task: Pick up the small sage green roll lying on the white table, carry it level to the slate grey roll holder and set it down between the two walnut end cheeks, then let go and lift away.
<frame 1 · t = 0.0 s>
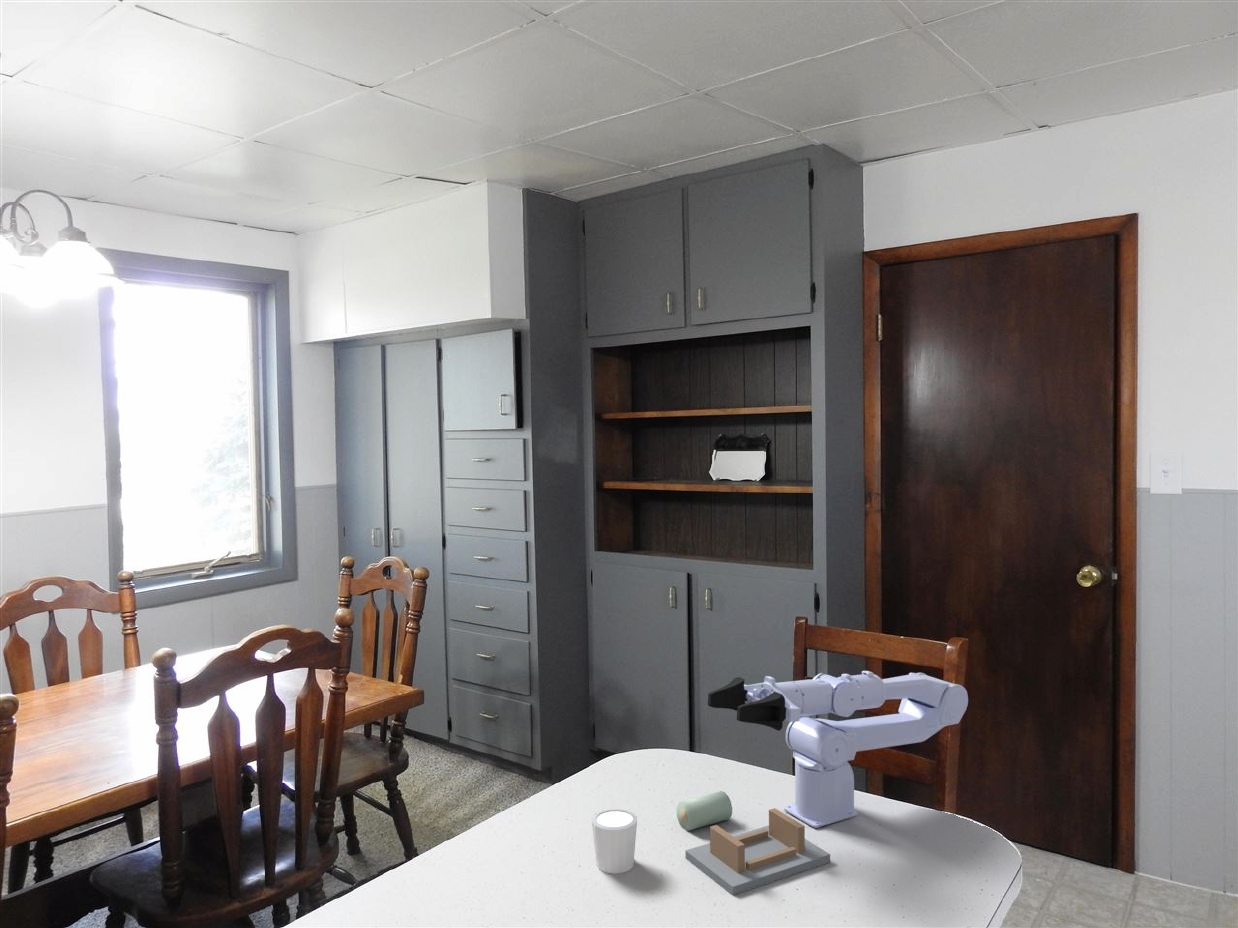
hand: (723, 706, 138), 22 cm above the table, tool horizontal, fingers open, 7 cm apart
white cup: (615, 864, 133), on the table
roll: (704, 823, 146), on the table
holder: (757, 859, 134), on the table
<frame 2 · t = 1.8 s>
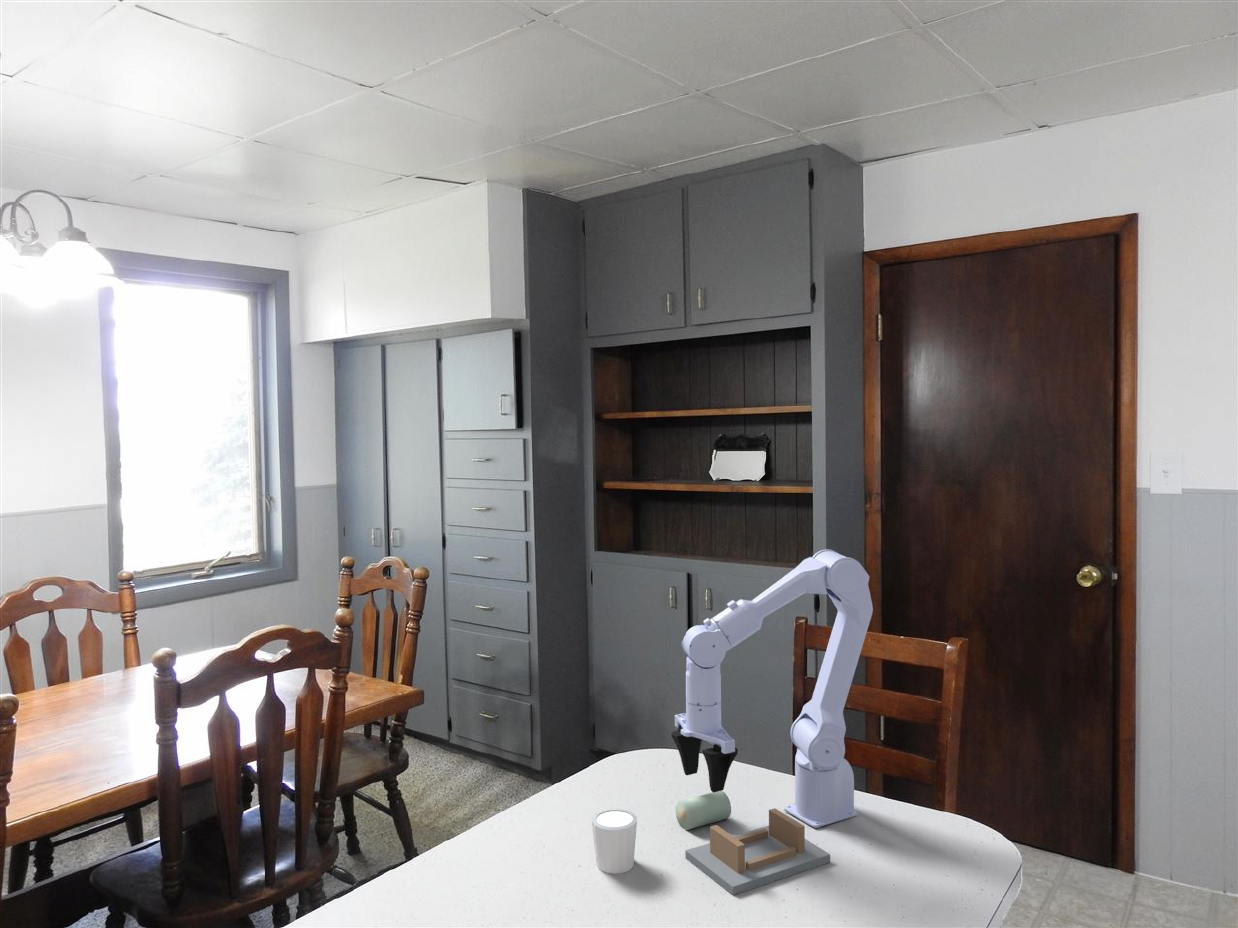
hand: (703, 781, 145), 7 cm above the table, tool pointing down, fingers open, 7 cm apart
roll: (704, 823, 146), on the table, tilted 8°
everything else where it was.
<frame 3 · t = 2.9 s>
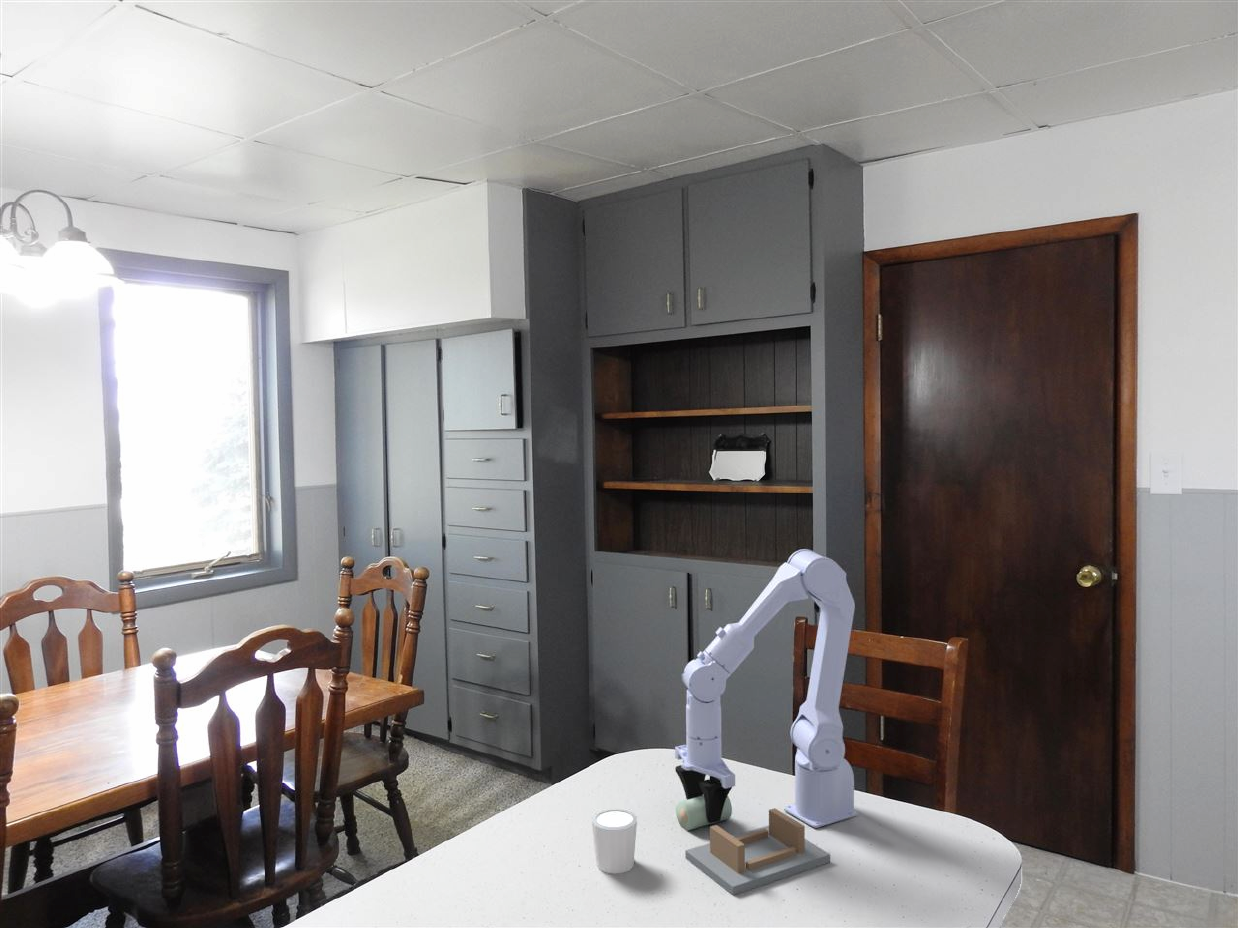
hand: (704, 814, 146), 1 cm above the table, tool pointing down, fingers open, 5 cm apart
nothing on the table moved.
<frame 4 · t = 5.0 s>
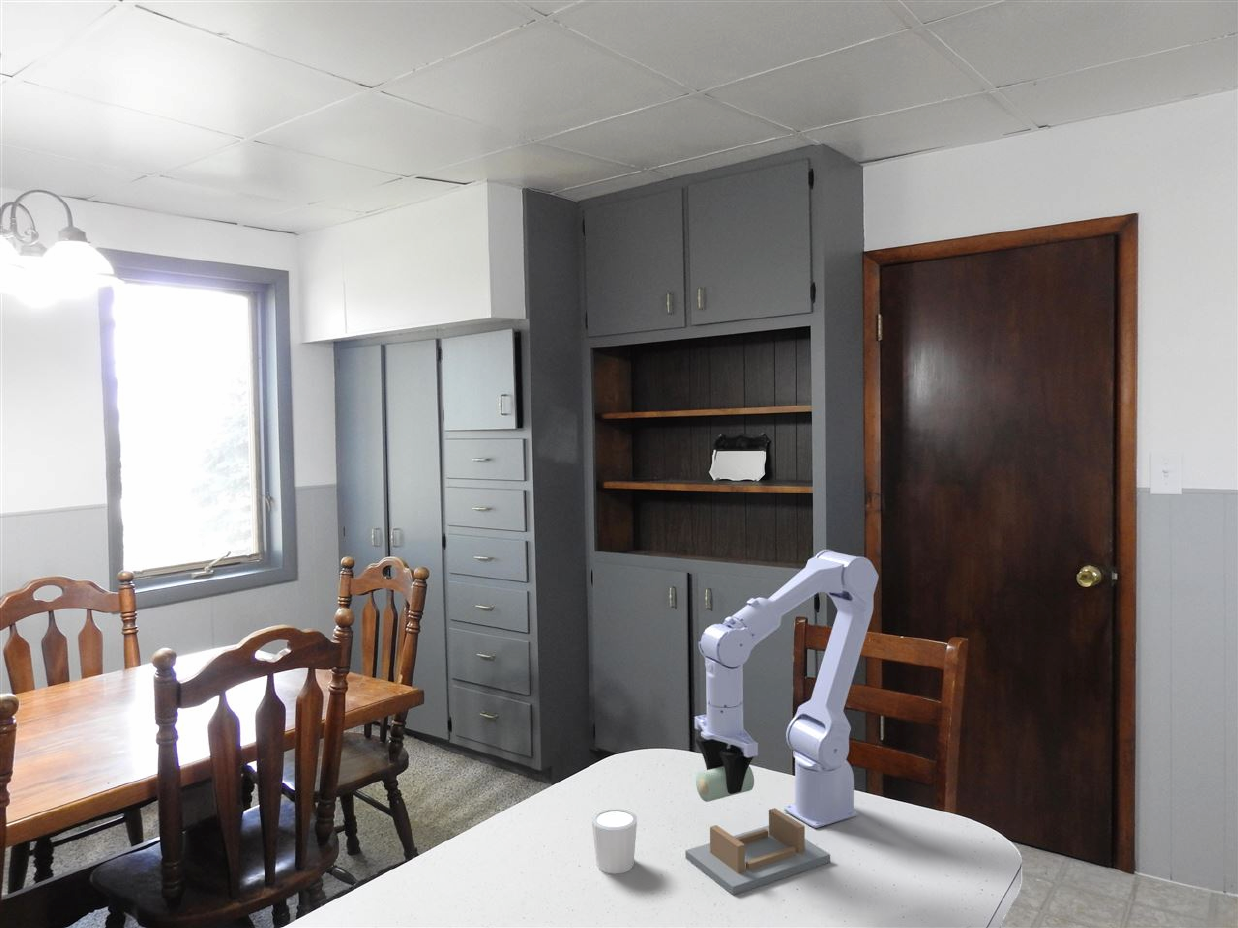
hand: (725, 786, 140), 8 cm above the table, tool pointing down, fingers closed on roll, 4 cm apart
roll: (725, 795, 140), point 7 cm above the table, touching gripper
everything else where it was.
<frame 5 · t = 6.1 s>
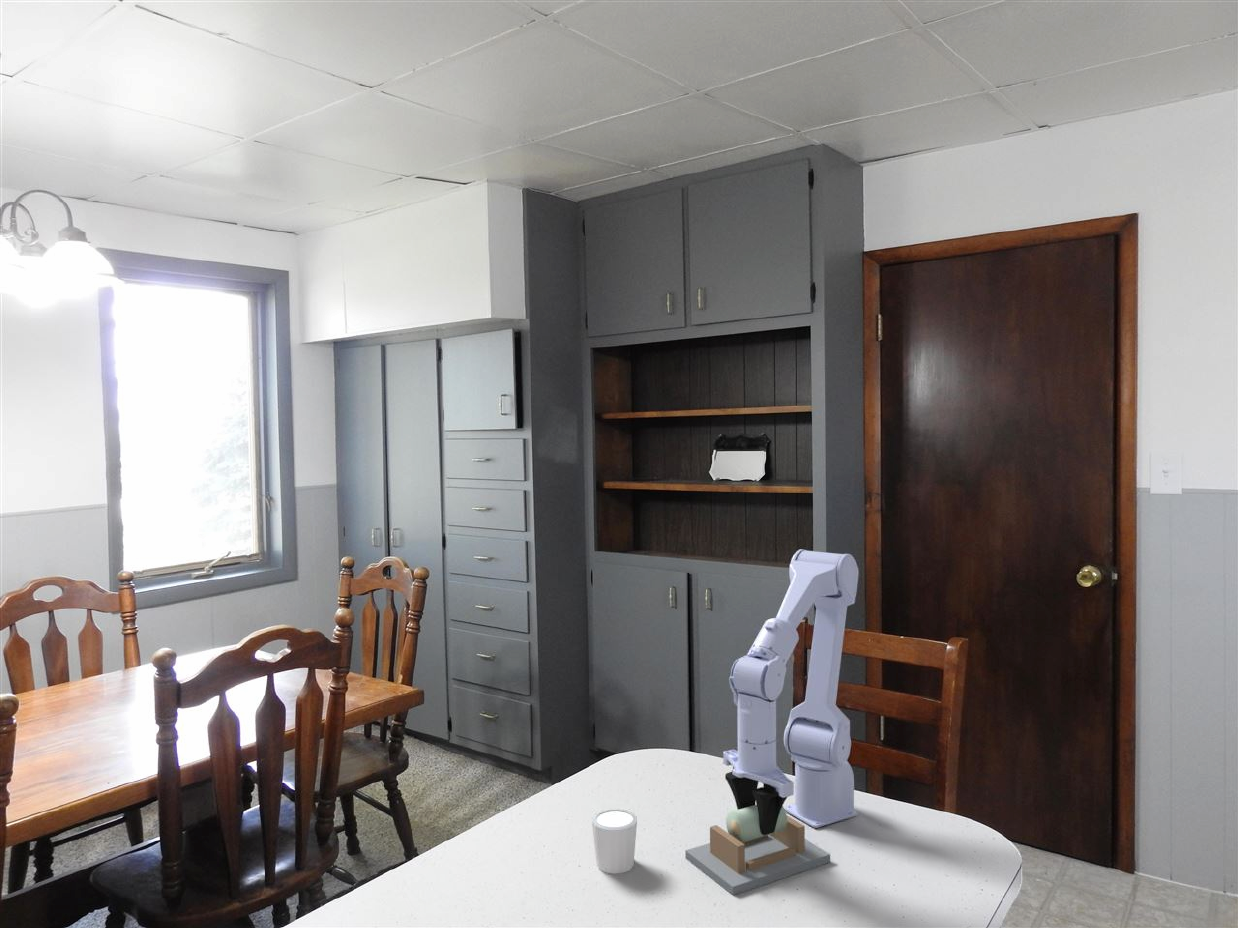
hand: (757, 825, 133), 5 cm above the table, tool pointing down, fingers closed on roll, 4 cm apart
roll: (756, 835, 133), point 4 cm above the table, touching gripper
everything else where it was.
when the fingers open (3 cm above the table, at t = 6.9 s): roll stays where it is, resting on holder.
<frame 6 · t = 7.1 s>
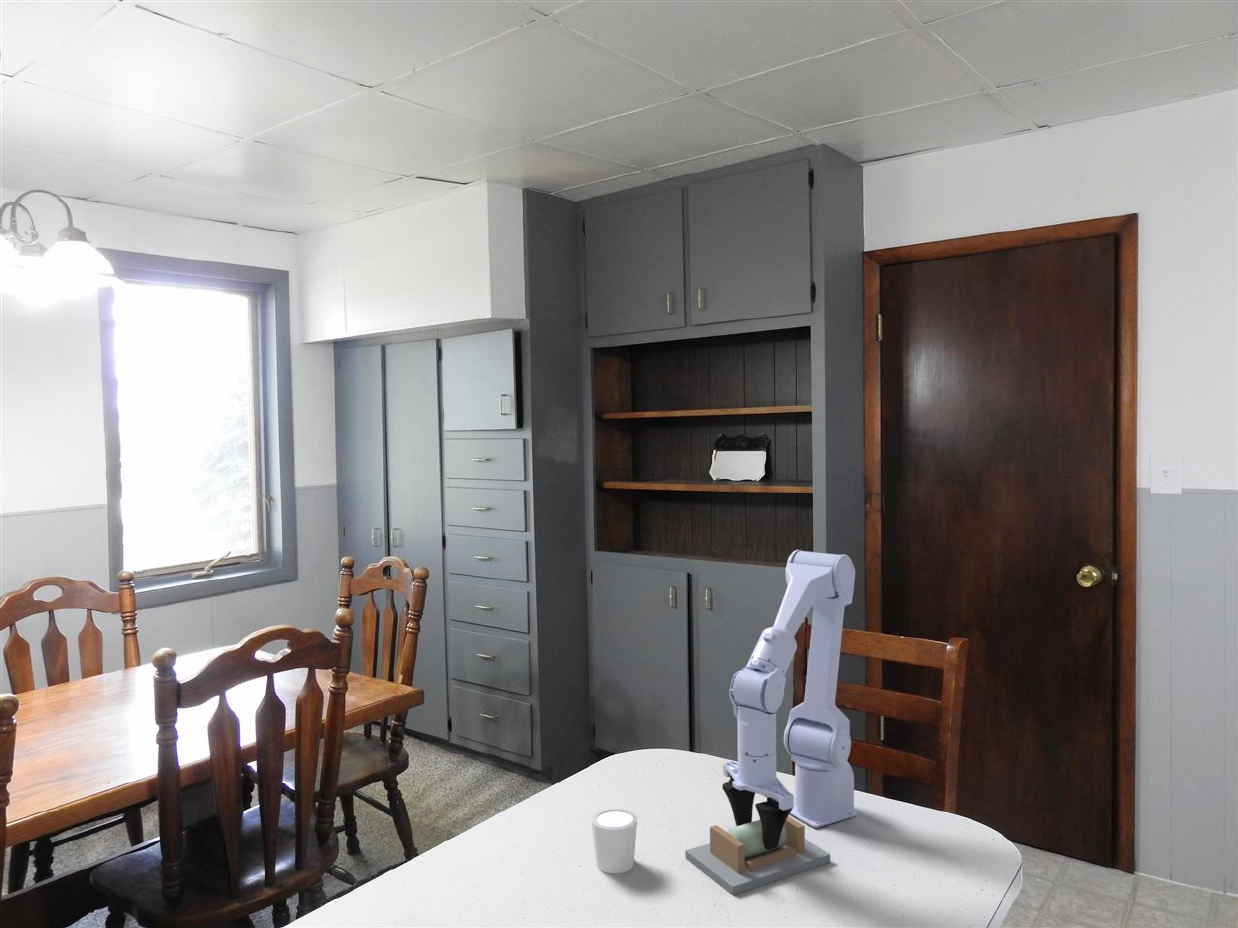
hand: (757, 837, 133), 3 cm above the table, tool pointing down, fingers open, 6 cm apart
roll: (756, 852, 134), point 1 cm above the table, touching holder
everything else where it was.
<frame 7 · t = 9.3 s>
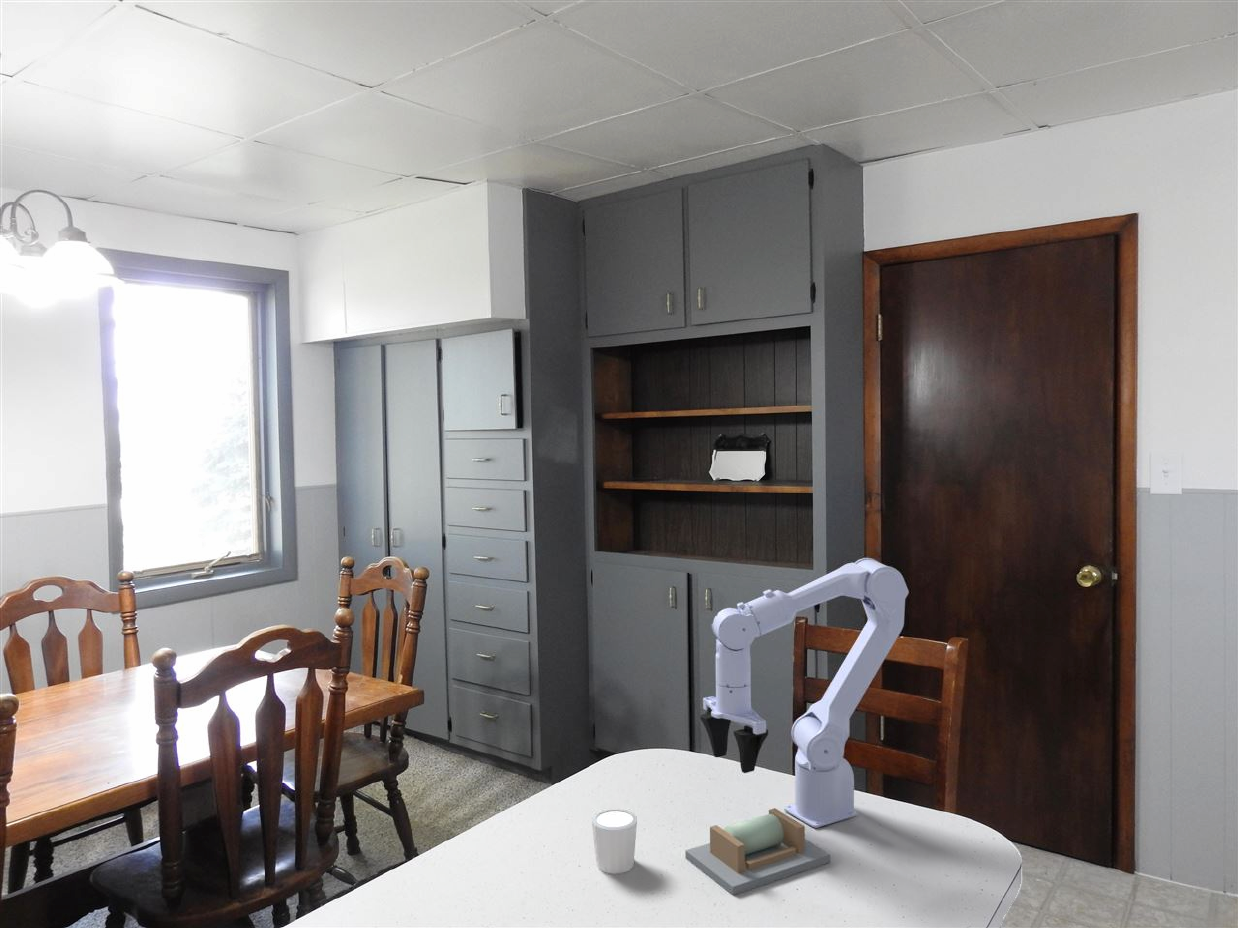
hand: (733, 763, 147), 9 cm above the table, tool pointing down, fingers open, 7 cm apart
roll: (756, 851, 134), point 1 cm above the table, tilted 22°, touching holder
everything else where it was.
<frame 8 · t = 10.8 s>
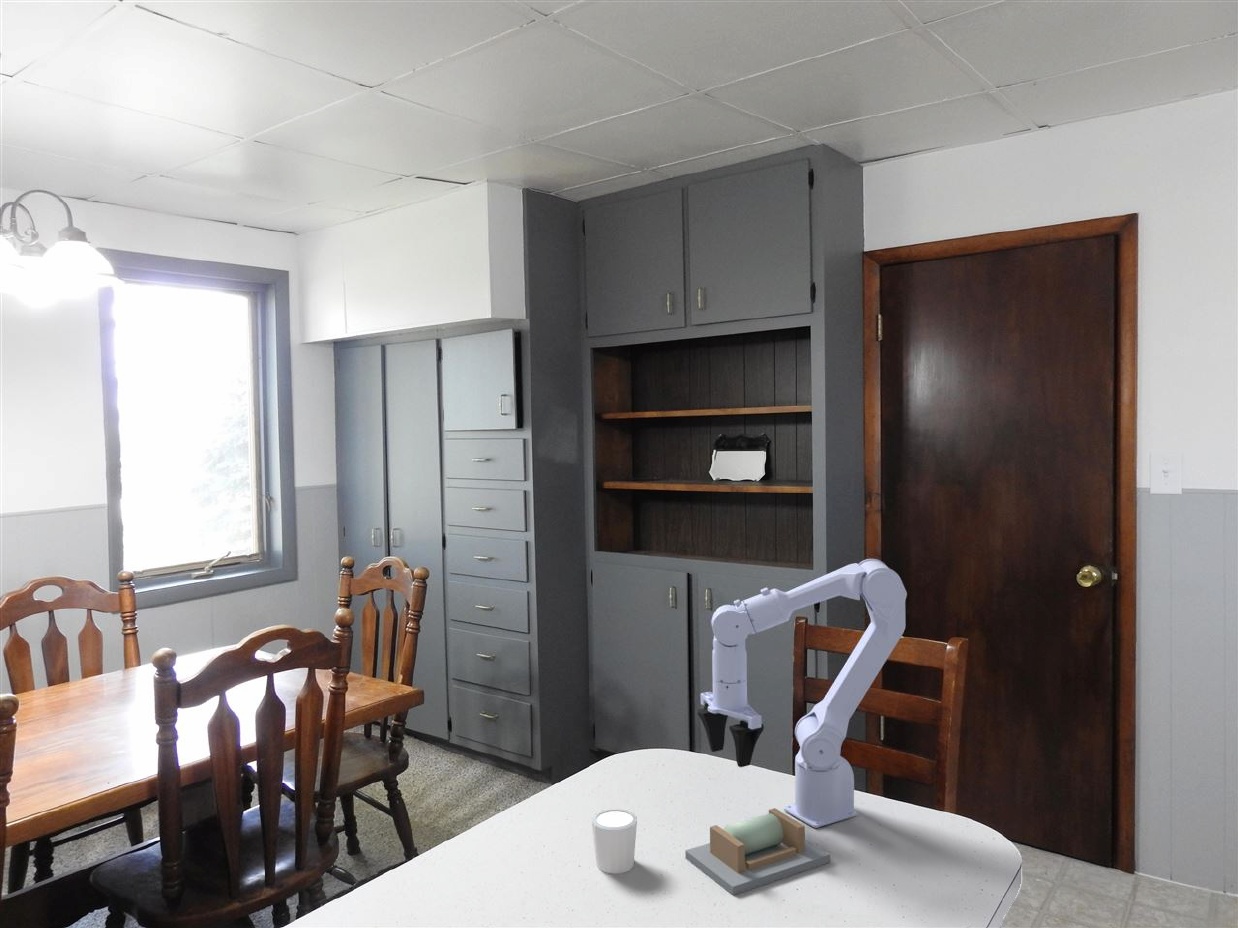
hand: (730, 757, 149), 9 cm above the table, tool pointing down, fingers open, 7 cm apart
nothing on the table moved.
at the end: roll 0.1 cm off-centre on the holder, point 1.4 cm above the holder's base; the gripper is holding nothing; roll touching holder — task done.
